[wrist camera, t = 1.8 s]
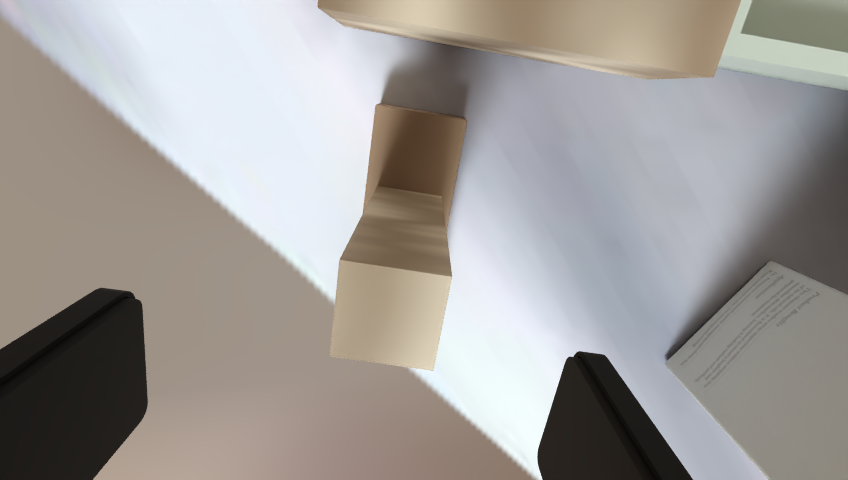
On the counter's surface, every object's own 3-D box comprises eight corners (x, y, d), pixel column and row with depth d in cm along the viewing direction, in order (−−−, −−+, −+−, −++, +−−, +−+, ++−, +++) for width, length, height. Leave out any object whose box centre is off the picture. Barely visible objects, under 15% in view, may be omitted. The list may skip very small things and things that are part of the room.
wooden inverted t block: (463, 117, 21) (499, 147, 10) (429, 302, 24) (430, 465, 14) (380, 103, 21) (332, 120, 10) (357, 291, 24) (303, 448, 14)
